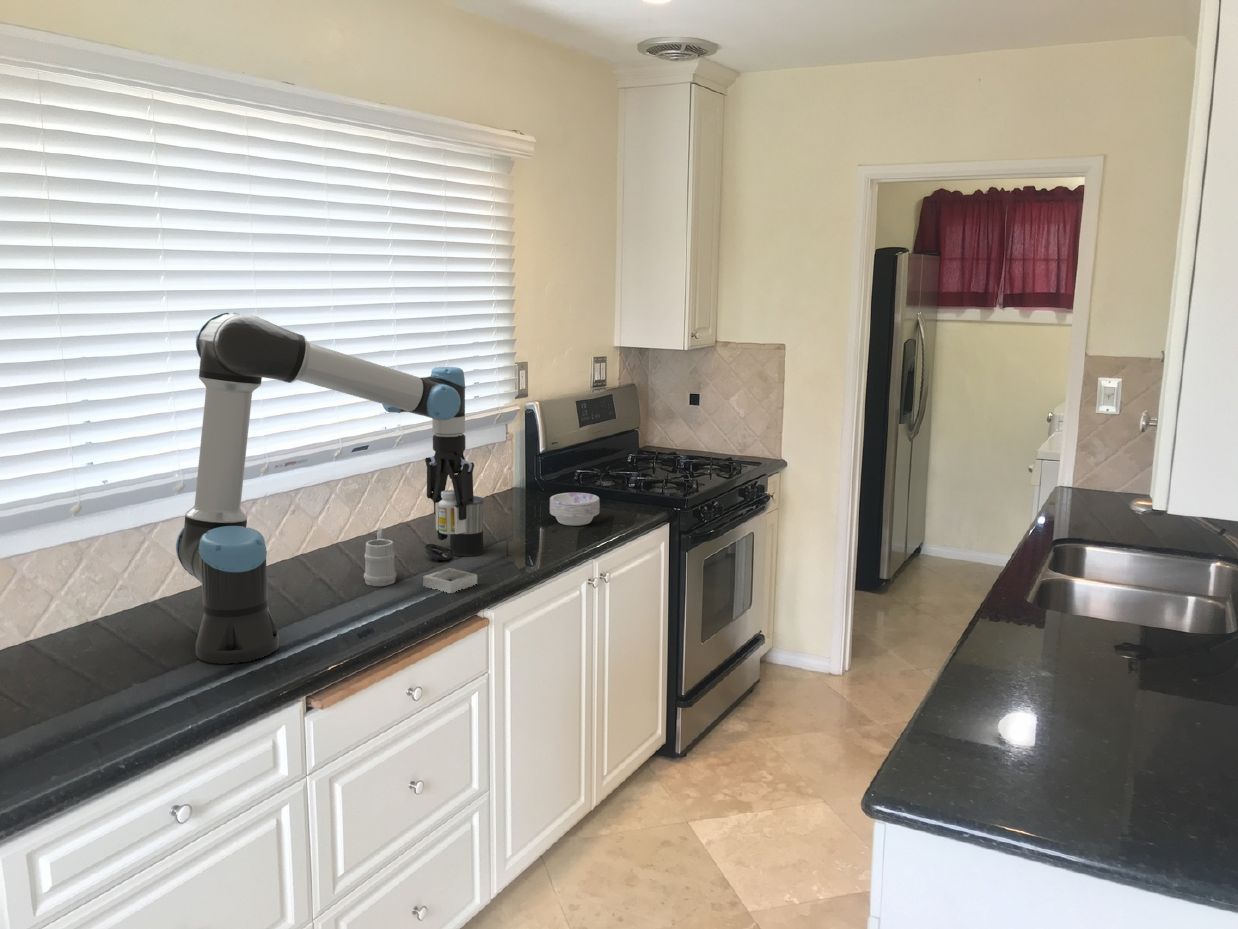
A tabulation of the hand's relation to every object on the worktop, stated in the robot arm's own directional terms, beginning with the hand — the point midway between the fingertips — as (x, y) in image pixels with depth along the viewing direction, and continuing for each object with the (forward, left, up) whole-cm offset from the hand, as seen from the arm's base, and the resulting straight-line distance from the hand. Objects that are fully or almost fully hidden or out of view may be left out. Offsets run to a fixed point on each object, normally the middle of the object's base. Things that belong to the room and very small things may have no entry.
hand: (450, 530), depth 228 cm
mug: (-7, +17, -14) cm, 23 cm away
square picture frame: (0, 0, -14) cm, 14 cm away
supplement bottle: (0, 0, -1) cm, 1 cm away
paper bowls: (+69, +15, -14) cm, 72 cm away
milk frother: (+20, +17, -14) cm, 30 cm away
